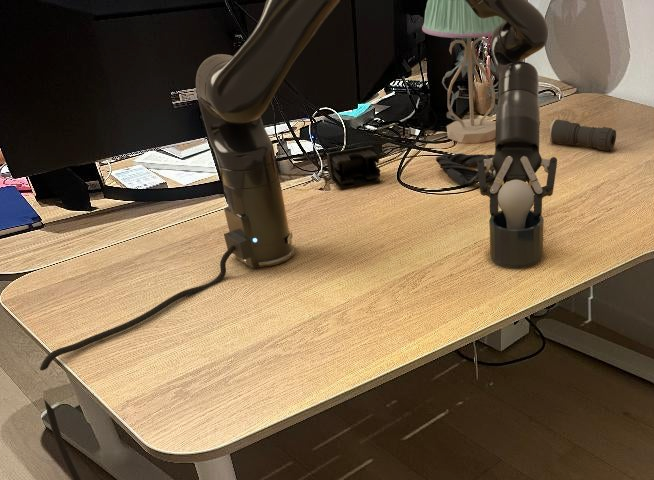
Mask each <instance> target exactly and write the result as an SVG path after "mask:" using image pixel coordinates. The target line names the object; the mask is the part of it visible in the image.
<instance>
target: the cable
mask: <svg viewBox="0 0 654 480" xmlns="http://www.w3.org/2000/svg"><path fill="white" fill-rule="evenodd" d="M493 156H494V154H481V153H479V154H478V153H477V154H466V153H456V154H447V153H444V154H442V155H440V156H436V158H435V161H436V163H438V165H439V167H440V169H442V171H443V173H444V174H445V175H446V176H447V178H449V179H450V180H451V181H452V182H454V183H455V184H458V185H459V186H461V187H465V186H471V187H477V183H479V178H478V169H473V168H470V167H473V166H477V158H478V157H482V158H483V159H490V158H492V157H493ZM490 169H491V171H489V172H487V173H485V175H486V184H487V185H488V184H489V185H493V183H494V181H495V178H496V176H497V174H498V172H497V171H496V169H495V168H494V167H493V166H491V167H490Z"/></svg>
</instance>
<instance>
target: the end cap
mask: <svg viewBox="0 0 654 480" xmlns="http://www.w3.org/2000/svg"><path fill="white" fill-rule="evenodd" d="M326 164H327V169H328V173H329V176H330V177H331V180H332V182H334V183H335V185H336V187H338V189H339V190H343V191H344V190H348V189H354V188H359V187H364V186H369V185H376V184H380V183H381V179H380V176H381V172H382V170H381V168H380V167H379V166H377V164H380V159H379V156H378V155H377V154H376V150H375V146H373V145H367V146H361V147H355V148H350V149H349V148H348V149H344V150H343V149H342V150H337V151H331V152H327V154H326Z"/></svg>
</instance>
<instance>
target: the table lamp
mask: <svg viewBox="0 0 654 480" xmlns="http://www.w3.org/2000/svg"><path fill="white" fill-rule="evenodd" d="M503 22H505V20H504V19H502V18H501V17H498V16H493V17H489V18H485V19H482V18H480V17H478V16H477V15H476V14H475V13H474V11H473V10H472V9H471V7H470V6H469V5H468V4H467V2H466V1H465V0H427V2H426V7H425V10H424V21H423V24H422V26H421V30H422V32H423V33H425V34H427V35H430V36H434V37H440V38H449V39H451V38H452V39H455V40H453V41H451V42H450V46H449V49H448V51H449V53H450V54H452V51H453V48H454V46H455V45H462V47H464V49H461V51H460V52H459V53H458V56H457V57H456V61H457V62H456V63H454V66H455V67H454V68H453V69H451V70H449V71H447V72H445V75H444V76H443V78H442V81H441V84H442V85H443V88H444V89H445V90H446V91H447V95H446V97H447V109H448V111H446V118H447V119H451V120H452V122H451V123H449V124H447V125H446V132H447V139H449V140H452V141H455V142H458V143H461V144H479V143H484V142H490V141H492V140H494V139H496V122H494V121H492V120H488V119H487V118H492V117H493V116H494V115H495V114H496V110H497V104H496V95H497V94H496V91H495V88H496V87H498V82H499V80H498V79H497V82H496V84H494V82H493V79H492V78H491V77H490V76H489V74H488V73H487V71H486V70H485V69H484V67H483V66H482V65H485V66H487V67H488V68H489V69H490V71H492V72H493V73H496V74H497V72H496V69H495V65H489V64H487V63H485V61H484V60H482V59H481V58H480V57H477V55H476V54H477V48H475V46H476V44H477V43H478V42H480V41H482V42H483V43H486V49H487V50H489V48H490V47H489V46H490V42H489V41H488V39H487V37H489V38H490V37H492V34H493V32H494V30H495V29H496V28H497V27H498V26H499V25H500V24H502V23H503ZM461 39H466V42H465V41H464V40H461ZM472 39H474V41H472ZM481 64H482V65H481ZM476 66H477V67H478V68H479V70H480V71H481V72H482V73H483V75H484V76H485V78H486V79H487V80H488V82H489V85H490V89H488V88H487V87H486V86H484V91H485V93H486V94H487V95H488V96H490V98H491V101H490V107H489V109H487V111H486V113H484V115H483V116H482V117H481V118H475V109H474V80H473V79H474V78H473V76H475V77H478V75H477V69H476ZM455 70H456V72H455V74H454V71H455ZM460 73H461V77H462V78H464V77H465V76H466V74H467V73H468V74H467V76H468V78H467V79H468V94H469V95H468V100H469V118H466V119H461V118H460V117H458V116H457V115H456V114H455V112H454V111H453V104H454V102H455V100H456V99H458V97H459V95H460V89H458V90H457V91H456V92H455V93H454V91H453V90H452V89H453V85H454V83H455V82H456V81H457V78H458V76H459V75H460ZM453 74H454V75H453ZM452 75H453V77H452V78H451V81H450V82H449V86H448V88H447V86H446V84H445V80H446V79H447V78H449V77H451V76H452ZM451 94H452V95H451ZM450 99H451V101H450ZM492 110H493V112H492V113H491V111H492ZM490 113H491V114H490Z"/></svg>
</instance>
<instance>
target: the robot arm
mask: <svg viewBox="0 0 654 480" xmlns="http://www.w3.org/2000/svg"><path fill="white" fill-rule="evenodd" d="M340 1H341V0H266V1H265V3H264V8H263V11H262V13H261V16H260V18H259V20H258V22H257V25H256V26H255V28H254V29H253V31H252V33H251V34H250V35H249V36H248V38H247V39H246V40H245V42H244V43H243V44H242V45H241V46H240V48H239V49H238V50H237V51H236V52H235V53H234V55H230V54H223V53H220V54H219V53H217V54H213V55H210V56H209V57H207V58H206V59H205V60H203V62H202V63H201V64H200V65H199V67H198V69H197V71H196V75H195V90H196V97H197V101H198V105H199V109H200V113H201V116H202V120H203V124H204V127H205V131H206V135H207V138H208V140H209V143H210V146H211V148H212V149H213V152H214V156H215V159H216V161H217V164H218V169H219V174H220V178H221V181H222V186H223V191H224V194H225V199H226V204H227V207H224V208H223V211H224V215H225V219H226V224H227V228H228V232H225V233H223V237H224V240H225V244H226V248H227V250H225V252H224V254H223V255H222V257H221V259H220V263H219V268H220V269H219V270H220V272H219V274H218V275H217V276H216V278H214V279H212V280H211V281H210V282H208V283H206V284H203V285H199V286H195V287H191V288H187V289H184V290H183V291H179V292H177V293H176V294H174V295H172V296H170V297H169V298H167V299H165V300H164V301H162V302H161V303H158V304H157V305H156V306H154V307H153V308H151V309H149V310H148V311H146V312H145V313H143V314H141V315H139V316H136V317H135V318H133V319H131V320H129V321H126V322H124V323H122V324H119V325H117V326H115V327H113V328H109V329H107V330H104V331H102V332H100V333H97V334H94V335H92V336H90V337H87V338H84V339H82V340H80V341H77V342H76V343H73V344H70V345H65V346H62V347H60V348H57V349H55V350H53V351H51V352H50V353H49V354H48V355H47V356H46V357H45V358H44V359H43V361H42V362H41V364H40V367H39V371H45V370H47V369H48V368H49V366H50V365H51V363H52V362H53V361H54V360H55V359H56V358H57V357H59V356H62V355H65V354H68V353H71V352H75V351H77V350H79V349H82V348H84V347H86V346H89V345H91V344H93V343H96V342H98V341H101V340H103V339H105V338H108V337H110V336H113V335H116V334H118V333H121V332H123V331H126V330H128V329H131V328H133V327H134V326H136V325H138V324H141V323H142V322H144V321H146V320H148V319H150V318H151V317H153V316H155V315H156V314H158V313H159V312H161V311H162V310H164V309H165V308H168V307H169V306H170V305H171V304H173V303H175V302H177V301H179V300H181V299H183V298H184V297H187V296H190V295H194V294H196V293H199V292H202V291H204V290H207V289H208V288H211V287H212V286H215V285H217V284H218V283H220V282H221V281H223V279H224V278H225V276H226V275H227V266H226V264H227V261H228V259H229V258H230V256H231V255H232V254H233V255H234V256H235V259H236V260H238V261H239V262H241V263H242V264H244V265H246V266H248V267H249V268H251V269H253V270H255V269H258V268H262V267H263V268H264V267H272V266H276V265H280V264H282V263H286V261H288V260H290V259H291V258H292V257H293V256H294V254H295V249H294V245H293V241H292V239H293V237H294V235H293V231H292V230H291V231H290V225H289V220H288V215H287V210H286V206H285V200H284V195H283V190H282V185H281V180H280V179H281V178H280V174H279V170H278V163H277V159H276V153H275V148H274V144H273V141H272V139H271V138H270V136H269V134H268V132H267V130H266V127H265V125H264V123H263V119H262V115H264V113H265V111H266V110H267V109H268V107H269V106H270V104H271V102H272V100H273V99H274V98H275V95H276V93H277V92H278V90H279V88H280V86H281V85H282V82H283V81H284V79H285V77H286V76H287V74H288V72H289V70H290V69H291V67H292V65H293V64H294V63H295V61H296V60H297V58H298V57H299V55H300V54H301V53H302V51H303V50H304V49H305V48H306V46H307V45H308V44H309V43H310V41H311V40H312V38H313V37H314V36H315V35H316V34H317V32H318V30H319V29H320V28H321V27H322V25H323V24H324V22H325V21H326V20H327V19H328V17H329V16H330V15H331V13H332V12H333V11H334V9H335V8H336V7H337V6H338V4H339V3H340ZM465 1H466V2H467V4H468V5H469V6H470V7H471V9H472V10H473V11H474V13H475V14H476V15H477V16H478V17H480V18H482V19H485V18H489V17H493V16H498V17H501V18H502V19H504V20H505V22H503V23H502V24H500V25H499V26H498V27H497V28H496V29H495V30H494V32H493V34H492V36H490V37H491V38H490V42H489V46H490V47H489V48H490V54H491V56H492V60H493V64H494V67H495V69H496V72H497V73H496V72H495V73H496V76H497V82H498V80H499V82H498V85H497V104H496V105H497V110H496V112H495V123H496V138H494V139H495V141H494V142H495V144H494V153H493V155H494V156H493V157H492V158H490V159H483V158H482V157H478V158H477V165H476V170H477V171H478V178H479V182H478V186H479V187H478V188H479V192H480V195H481V196H483V197H484V196H485V197H486V196H487V198H489V215H490V217H491V216H494V219H498V212H499V203H498V193H499V190H500V189H501V187H502V186H503V185H504V184H505V183H507V182H508V181H511V180H521V181H524V182H525V183H527V184H528V185H529V186H530V187H531V189H532V191H533V193H534V203H533V211H534V220H538V216H541V215H543V199H544V198H545V197H551V196H553V194H554V189H555V188H554V187H555V180H556V175H557V168H558V159H557V157H555V156H552V157H551V158H543V157H542V156H541V153H540V126H541V120H540V119H541V118H540V116H541V115H540V114H541V113H540V112H541V111H540V105H539V104H540V103H539V83H540V82H539V72H538V70H537V68H536V67H535V66H534V65H533V64H531V63H529V62H526V61H523V60H525V59H528V58H529V57H531V56H533V55H534V54H536V53H537V52H539V51H541V50H542V49H543V48H544V47H546V46H547V43H548V42H549V37H550V31H549V27H548V23H547V20H546V19H545V17H544V15H543V14H542V13H541V12H540V10H539V9H538V8H536V7H535V6H534V5H533V4H532V3H531V2H529V1H528V0H465ZM492 166H493V167H494V168H495V169H496V171H497V172H498V174H497V176H496V178H495V181H494V183H493V184H491V185H492V186H489V185H488V184H486V175H485V173H487V172H490V169H491V168H492ZM541 167H543V169H544V172H545V173H546V174H547V178H546V185H544V186H542V185H541V184H540V181H539V179H538V177H537V174H536V173H537V172H538V171H539V170H540V168H541ZM43 401H44V406H45V411H46V414H47V417H48V422H49V426H50V429H51V431H52V434H53V438H54V440H55V442H56V445H57V448H58V450H59V453H60V454H61V457H62V460H63V462H64V463H65V467H66V468H67V470H68V472H69V474H70V476H71V478H72V480H82V479H81V477H80V475H79V473H78V471H77V468H76V466H75V464H74V463H73V461H72V459H71V456H70V454H69V452H68V450H67V447H66V444H65V442H64V440H63V436H62V434H61V431H60V428H59V425H58V421H57V417H56V413H55V409H53V407H52V406H51V405H50V404H49V403H48V402H47V401H46V400H45V398H43Z"/></svg>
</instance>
